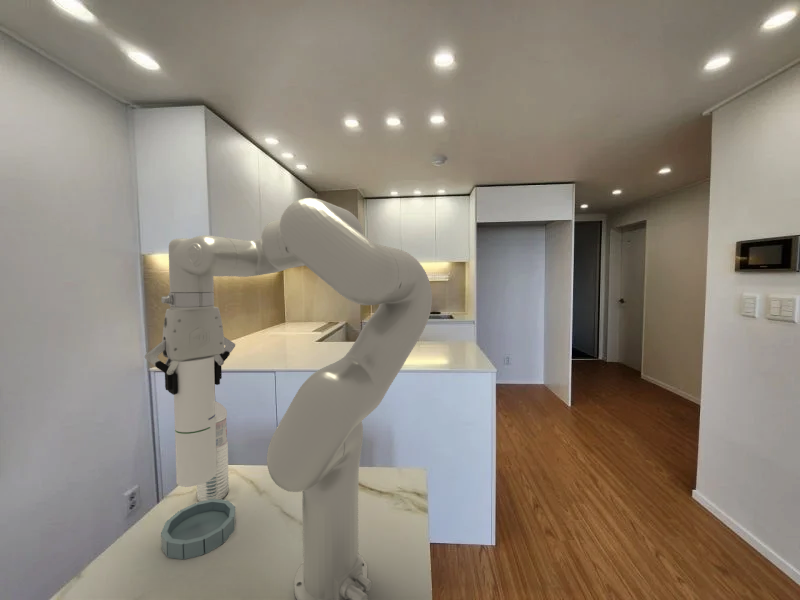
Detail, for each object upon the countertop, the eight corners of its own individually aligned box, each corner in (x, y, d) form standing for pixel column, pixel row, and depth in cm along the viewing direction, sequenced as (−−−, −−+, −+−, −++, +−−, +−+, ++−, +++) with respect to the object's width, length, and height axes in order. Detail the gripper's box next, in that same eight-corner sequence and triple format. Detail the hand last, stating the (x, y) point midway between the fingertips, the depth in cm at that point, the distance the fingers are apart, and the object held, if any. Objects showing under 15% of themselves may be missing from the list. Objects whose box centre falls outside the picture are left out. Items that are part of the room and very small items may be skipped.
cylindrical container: (223, 467, 73) (221, 354, 72) (201, 488, 66) (198, 362, 65) (193, 465, 74) (190, 352, 73) (167, 485, 67) (163, 360, 65)
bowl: (246, 530, 72) (246, 516, 71) (176, 570, 62) (175, 555, 61) (219, 504, 80) (219, 492, 80) (153, 536, 70) (153, 522, 70)
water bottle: (200, 490, 85) (197, 393, 84) (230, 484, 87) (228, 389, 86) (194, 507, 79) (190, 402, 77) (227, 501, 81) (224, 398, 80)
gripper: (145, 304, 59) (149, 404, 60) (244, 300, 72) (245, 381, 73) (133, 302, 64) (137, 394, 65) (228, 298, 77) (229, 375, 78)
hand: (194, 387), depth 69 cm, fingers closed on cylindrical container, 7 cm apart
